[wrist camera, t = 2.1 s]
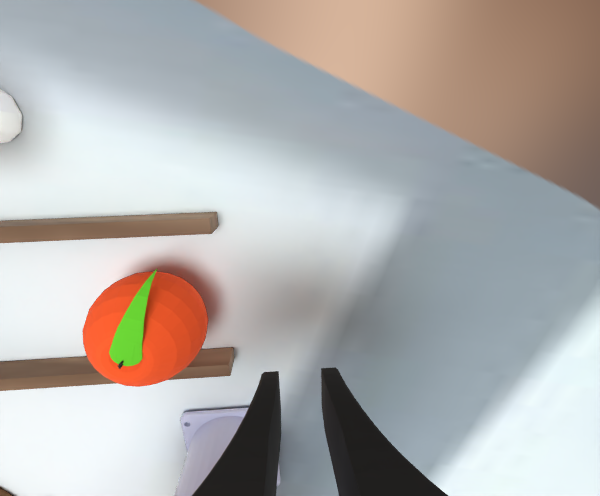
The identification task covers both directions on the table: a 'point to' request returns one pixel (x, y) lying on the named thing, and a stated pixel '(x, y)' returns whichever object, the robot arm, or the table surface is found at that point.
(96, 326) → the clementine
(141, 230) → the lane rails
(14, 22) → the table surface
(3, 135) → the milkshake
